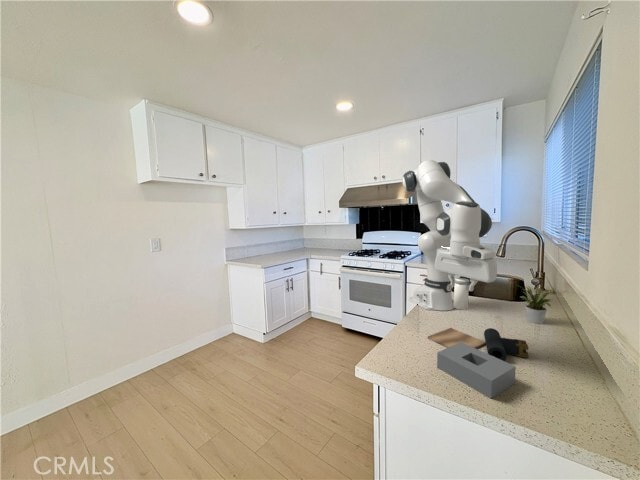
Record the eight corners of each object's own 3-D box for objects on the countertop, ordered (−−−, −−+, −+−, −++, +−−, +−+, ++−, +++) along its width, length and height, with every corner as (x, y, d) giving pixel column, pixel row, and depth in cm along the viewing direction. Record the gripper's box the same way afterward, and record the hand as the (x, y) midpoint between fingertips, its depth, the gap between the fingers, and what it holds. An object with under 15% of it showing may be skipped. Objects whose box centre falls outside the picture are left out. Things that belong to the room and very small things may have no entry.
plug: (450, 306, 91) (451, 278, 90) (458, 304, 93) (459, 277, 92) (462, 310, 87) (464, 281, 86) (470, 308, 89) (472, 280, 88)
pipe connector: (522, 332, 91) (532, 352, 78) (521, 346, 92) (532, 369, 79) (483, 326, 97) (488, 345, 84) (483, 340, 97) (487, 360, 84)
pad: (427, 338, 99) (427, 336, 99) (450, 329, 106) (450, 327, 106) (462, 355, 87) (462, 353, 87) (486, 344, 93) (486, 342, 93)
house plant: (507, 320, 112) (508, 284, 110) (514, 312, 121) (516, 278, 119) (550, 331, 101) (553, 291, 100) (555, 320, 110) (557, 284, 109)
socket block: (437, 367, 81) (437, 352, 80) (460, 356, 86) (461, 342, 86) (490, 398, 67) (491, 380, 66) (514, 383, 72) (515, 366, 72)
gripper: (431, 246, 95) (430, 282, 97) (490, 255, 77) (486, 299, 79) (442, 244, 98) (441, 279, 100) (501, 253, 80) (497, 295, 82)
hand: (461, 288), depth 89 cm, fingers closed on plug, 4 cm apart
